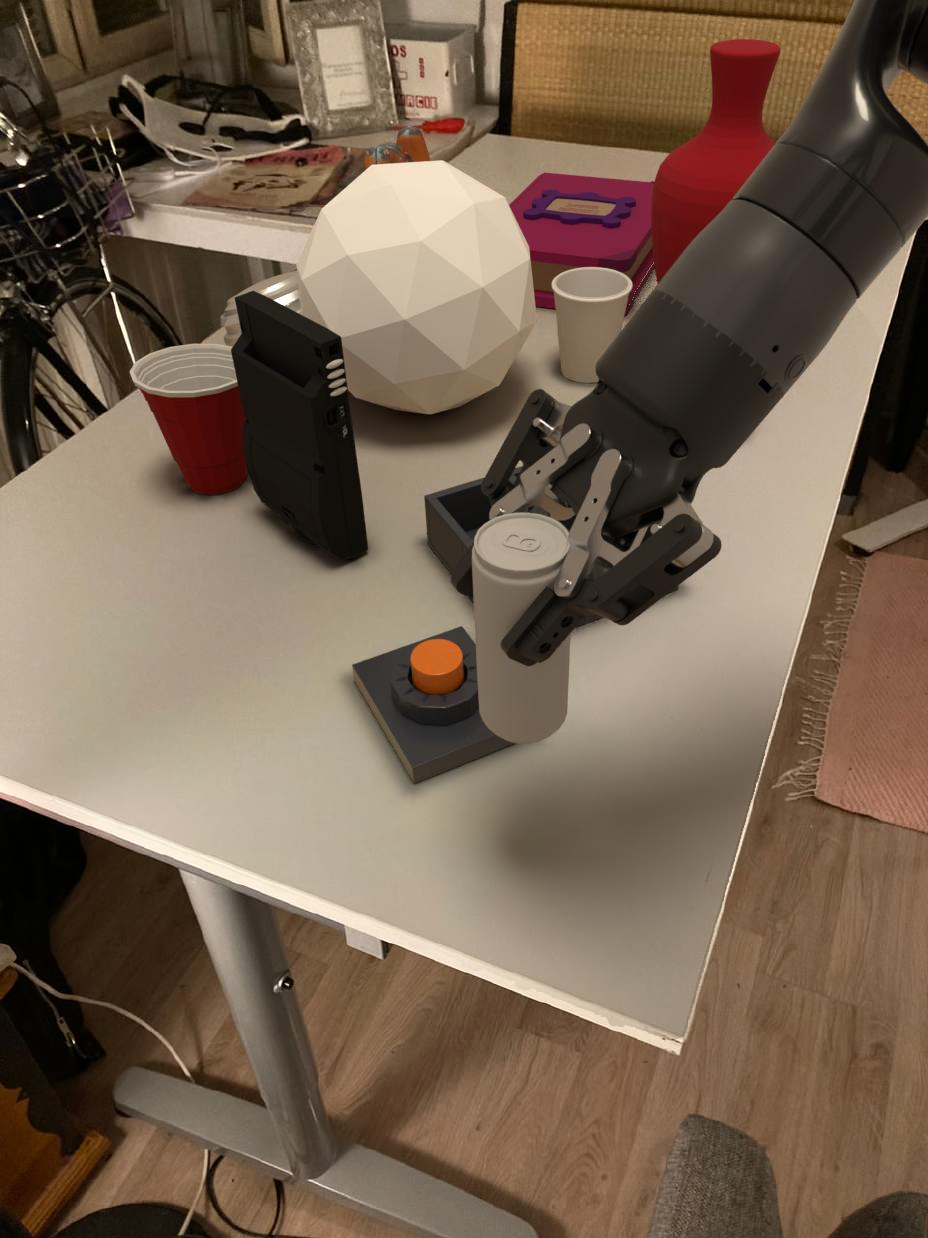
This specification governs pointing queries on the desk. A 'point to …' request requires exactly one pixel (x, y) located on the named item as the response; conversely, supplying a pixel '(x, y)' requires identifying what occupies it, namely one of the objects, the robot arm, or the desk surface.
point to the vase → (714, 150)
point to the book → (585, 229)
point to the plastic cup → (197, 412)
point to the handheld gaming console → (299, 424)
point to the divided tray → (471, 523)
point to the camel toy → (399, 149)
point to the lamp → (413, 286)
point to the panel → (427, 711)
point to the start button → (437, 667)
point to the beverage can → (503, 590)
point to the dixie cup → (588, 317)
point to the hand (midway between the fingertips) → (489, 622)
